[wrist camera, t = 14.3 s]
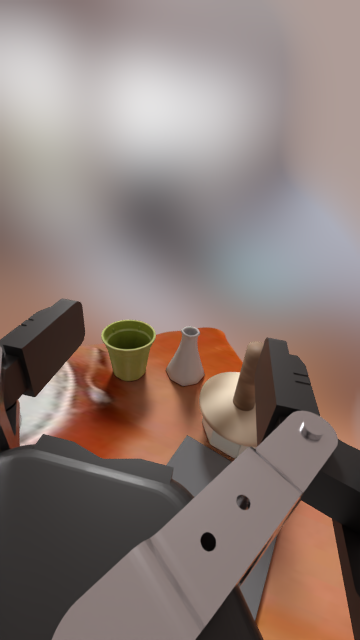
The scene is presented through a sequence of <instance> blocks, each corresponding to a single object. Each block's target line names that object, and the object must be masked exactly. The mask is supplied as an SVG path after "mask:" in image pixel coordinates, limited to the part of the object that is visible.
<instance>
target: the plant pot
mask: <svg viewBox="0 0 360 640" xmlns="http://www.w3.org/2000/svg"><path fill="white" fill-rule="evenodd" d="M155 336H156V333H155V331H154V329H153V328H152V327H151V326H150V325H149V324H147V323H144V322H142V321H136V320H122V321H117V322H114V323H112V324H110V325H108V326H107V327H106V328H105V329H104V330H103V331H102V334H101V337H102V341H103V342H104V344H105V345H106V347H107V349H108V352H109V356H110V360H111V364H112V368H113V372H114V375H115V376H116V377H118V378H120V379H122V380H124V381H133V380H137V379H139V378H140V377H141V376H142V375H143V374H144V373H145V371H146V366H147V360H148V355H149V350H150V347H151V345H152V343H153V342H154V340H155Z"/></svg>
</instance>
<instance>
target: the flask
mask: <svg viewBox="0 0 360 640" xmlns="http://www.w3.org/2000/svg"><path fill="white" fill-rule="evenodd" d="M181 333H182V340H181V343H180V346H179V348H178V350H177V351H176V353H175V355H174V357H173V358H172V360H171V361H170V363H169V365H168V366H167V368H166V371H167V373H168V375H169V378H170V379H171V380H172V381H174V382H176V383H178V384H180V385H182V386H187V385H192V384H197V383H198V382H199V381H200V380H201V379H202V377H203V376H204V375H205V374H204V371H203V367H202V364H201V361H200V357H199V353H198V347H197V339H198V336H199V335H200V332H199V330H198V329H197V328H195V327H192V326H188V327H184V328H183V329H182V330H181Z"/></svg>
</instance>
